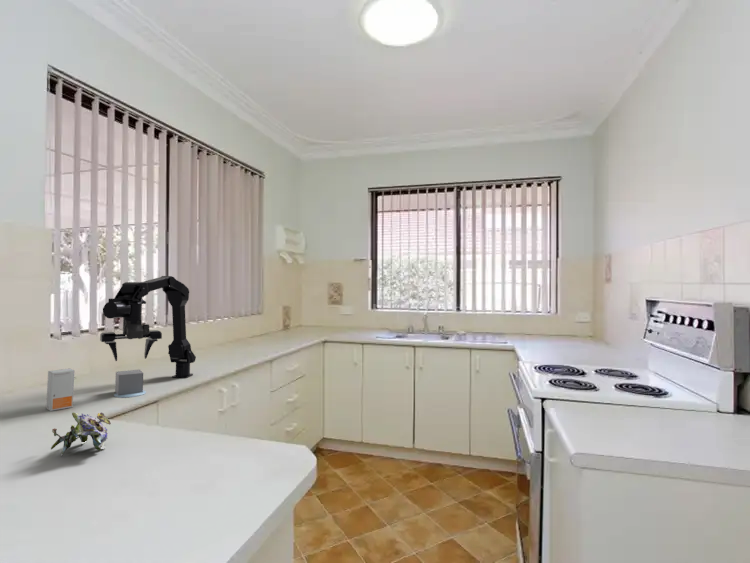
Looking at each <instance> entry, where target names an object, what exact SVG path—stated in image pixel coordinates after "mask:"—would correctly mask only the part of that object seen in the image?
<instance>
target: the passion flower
mask: <svg viewBox="0 0 750 563" xmlns="http://www.w3.org/2000/svg"><path fill="white" fill-rule="evenodd" d="M71 416H72V418H74V421H75V422H76V423H77V424H76V425H75V424H71V425H70V426H71V427H70V430H69V431H67V432H66V433H65V435H62V436H61V435H60V434H59V433H58V432H57V428H52V430H51V432H52V433H53V436H54V437H59V438H58V439H57V440H56V441H55V443H53V444H52V445H51V447H50V450H54V448H55V447H56V446H58V445H59V444H61V443H62V442H63V445H62V449H61V454H63V455H64V453H65V451H67V450H68V449H70V448H71V445H72V444H73V443H74V442H76V441H77V440H78V439H79V440H80V442H85V441H87V442H88V439H89V438H88V437H89V436H90V438H91V439H92V445H93V447H94V448H95V450H97V451H100V450H101V447H102V446H103V445H105V442H106V441H107V439H108V429H107V427H105V426H104V425H103V423H106V425H112V424H111V421H110V419H108V418H107V417H106V415H105V414H104V413H103V412H99V413H97V416H96V417H93V416H90V415H89V414H84V413H81V415H79V413H77V412H71ZM97 419H98V420H97ZM101 451H102V450H101Z"/></svg>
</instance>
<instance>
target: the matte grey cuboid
mask: <svg viewBox="0 0 750 563" xmlns="http://www.w3.org/2000/svg"><path fill="white" fill-rule="evenodd" d="M114 385H115V386H114V390H115V391H114V392H115V393H117V394H118V395H126V394H133V393H141V392H143V390H144V372H143V371H142V370H141V369H139V368H138V369H130V370H129V369H128V370H120V371H119V370H118V371H115V384H114Z"/></svg>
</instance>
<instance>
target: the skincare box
mask: <svg viewBox="0 0 750 563" xmlns="http://www.w3.org/2000/svg"><path fill="white" fill-rule="evenodd" d="M46 389H47V390H46V407H45V408H46V410H48V411H49V412H53V411H58V410H64V409H70V408H71V407H72V408H73V406H74V392H75V390H74V389H75V370H74V369H72V368H65V369H64V368H63V369H56V370H47V388H46Z"/></svg>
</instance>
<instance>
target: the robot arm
mask: <svg viewBox="0 0 750 563" xmlns="http://www.w3.org/2000/svg"><path fill="white" fill-rule="evenodd" d="M159 289H162V292H163V293H164V294H166V298H167V302H168V303H169V305H170V306H171V310H172V312H171V313H172V317H171V318H172V336H173V337H172V338H173V340H172V342H171V343H170V344H168V346H167V347H168V353H167V354H168V355H169V360H170V363H175V374H174V375H172V376H171V378H176V377H179V378H182V379H183V378H189V377H192V376H193V375H194V373H191V364H192V363H195V362H196V360H197V359H196V354H194V352H193V351H192V347H191V343H190V342H189V341H188V338H187V330H186V328H187V327H186V326H187V323H186V305H187V303H188V301H189V299H190V298H189V297H190V289H189V288H188V286H186V284H184V283H183V282H181V281H179V280H178V279H177V278H175V277H174V276H172V275H161V276H160V277H155V278H152V279H148V280H145V281H144V280H143V281H128V282H127V281H126V282H124V283H122V284H121V286H120V288H119V290H118V291H117V293H116V295H115V297H114V298H108V302H106V303H105V304H104V305H103V307H102V313H103V316H104V317H105V318H107V319H119V318H120V319H121V318H122V333H115V332H114V331H109V332H107V331H106V332H101V333H100V337H99V341H100V342H101V343H104V344H105V345H109V348H110V349H111V352H112V355H113V358H114V361H115V362H117V361H118V352H117V350H118V349H117V341H116V340H124V339H125V340H126V339H127V340H134V339H138V340H141V339H143V338H146V339H145V346H144V353H143V354H144V359H147V357H148V355H149V352H150V350H151V348H152V346H153V345H154V343H155V342H158V340H160V339H161V340H162V339H163V336H162V335H163V334H162V331H161V330H158V329H157V330H155V329H153V330H150V324H149V323H148V324H143V323H142V314H143V313H142V311H143V310H142V309H143V306H142V305H146V304H147V302H146V301H145V300H144V299H143V298H144V297H146V296H147V295H149V293H150V292H154V291H156V290H159ZM179 378H178V379H179Z"/></svg>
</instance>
